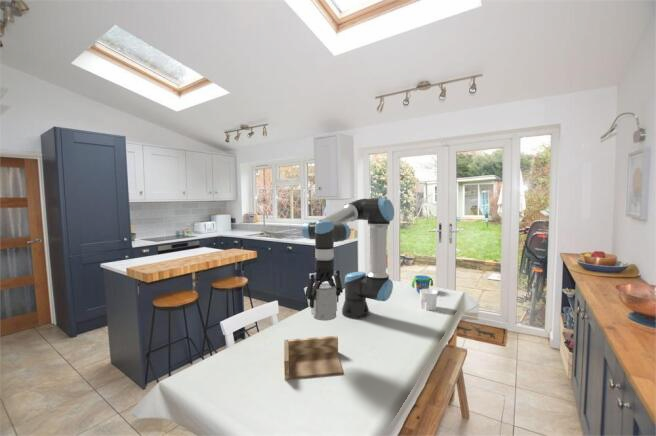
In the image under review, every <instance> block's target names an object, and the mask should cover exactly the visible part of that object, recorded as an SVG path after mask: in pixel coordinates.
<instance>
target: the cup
mask: <svg viewBox="0 0 656 436" xmlns="http://www.w3.org/2000/svg"><path fill="white" fill-rule="evenodd" d="M419 298H420V307H421V310H422V309H423V310H425V311H434V310H436V308H437V299H438V291H437V290H436V289H432V288H429V289H421V290H420V292H419Z"/></svg>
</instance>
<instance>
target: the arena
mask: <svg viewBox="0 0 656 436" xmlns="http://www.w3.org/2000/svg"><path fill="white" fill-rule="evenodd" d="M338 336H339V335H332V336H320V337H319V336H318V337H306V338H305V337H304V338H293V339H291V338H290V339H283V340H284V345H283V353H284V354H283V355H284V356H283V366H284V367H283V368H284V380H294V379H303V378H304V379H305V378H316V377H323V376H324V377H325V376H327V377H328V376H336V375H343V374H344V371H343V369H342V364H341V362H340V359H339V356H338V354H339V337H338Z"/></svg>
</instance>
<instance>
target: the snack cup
mask: <svg viewBox="0 0 656 436" xmlns="http://www.w3.org/2000/svg"><path fill="white" fill-rule="evenodd" d="M430 286H431V287H433V286H434V281H433V278H432V277H430V276H427V275H423V274H422V275H415V276H414V278H413V279H412V282H411V288H413V289H415V287H416V292H417V293H420V290H421V289H430Z"/></svg>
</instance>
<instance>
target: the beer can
mask: <svg viewBox="0 0 656 436" xmlns="http://www.w3.org/2000/svg"><path fill="white" fill-rule="evenodd" d="M315 300H316V316H313V315H312V316H313V318H314V319H315V320H317V321H323V322H325V321H331V320H335V319H336V318H337V311H336V286H331V285H329V283H322V284H321V285H320V287H319V289H316V297H315Z"/></svg>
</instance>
